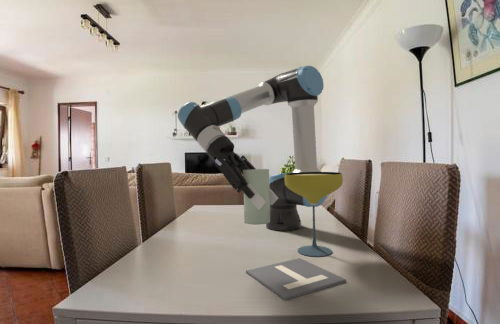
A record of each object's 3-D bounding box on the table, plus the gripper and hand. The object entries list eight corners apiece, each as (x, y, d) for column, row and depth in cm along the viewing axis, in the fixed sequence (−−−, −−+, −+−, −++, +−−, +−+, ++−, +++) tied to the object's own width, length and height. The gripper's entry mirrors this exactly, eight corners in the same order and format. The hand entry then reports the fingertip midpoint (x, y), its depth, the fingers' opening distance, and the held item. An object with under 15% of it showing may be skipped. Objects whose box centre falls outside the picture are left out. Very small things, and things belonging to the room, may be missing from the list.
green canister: (262, 217, 87) (261, 168, 86) (275, 222, 81) (274, 169, 80) (240, 220, 84) (238, 169, 83) (251, 225, 77) (250, 170, 77)
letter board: (299, 260, 90) (299, 258, 90) (345, 281, 74) (345, 279, 74) (245, 272, 81) (245, 270, 81) (285, 300, 65) (285, 297, 65)
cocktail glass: (344, 245, 103) (343, 171, 103) (342, 263, 86) (341, 175, 86) (292, 241, 109) (290, 171, 109) (280, 258, 92) (278, 175, 92)
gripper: (202, 133, 78) (260, 199, 70) (241, 136, 95) (291, 189, 88) (186, 154, 80) (241, 220, 73) (227, 153, 98) (275, 207, 90)
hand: (268, 203), depth 80 cm, fingers closed on green canister, 7 cm apart
